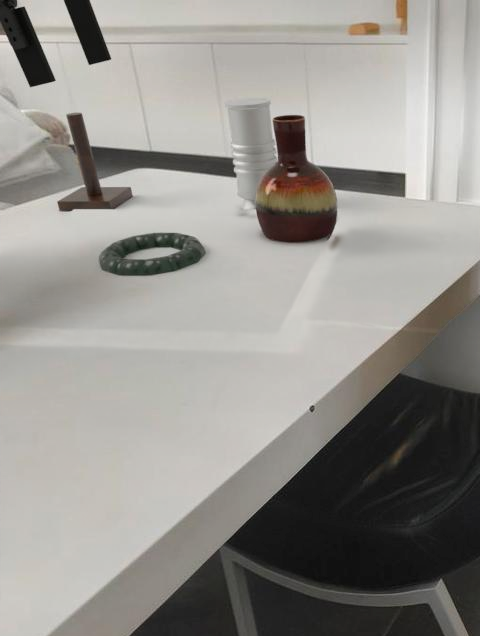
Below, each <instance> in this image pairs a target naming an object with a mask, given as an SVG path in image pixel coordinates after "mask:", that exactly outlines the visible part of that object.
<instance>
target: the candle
mask: <svg viewBox="0 0 480 636" xmlns="http://www.w3.org/2000/svg"><path fill="white" fill-rule="evenodd" d="M271 104H272V100H271V99H270V98H266V97H244V98H243V97H242V98H235V99H230V100H227V101H225V102H224V105H225V107H226V108H227V114H228V115H227V116H228V121H229V128H230V135H231V136H230V137H231V142H230V148H231V150H232V151H231V157H233V159H232V165H233V166H234V167H233V172H234V173H235V174H236V184H237V185H236V187H237V188H236V189H237V196H238V197H239V198H241V199H244V200H243V203H242V210H256V204H255V200H256V192H257V189H258V186H259V183H260V181H261V179H262V178H263V176H264V175H265V173H266V172H267V171H268V170H269V169H270V168H271V167H272V166H274V165H275V164H276V163H277V162H278V156H277V155H276V154H277V148H276V139H275V138H273V126H272V119H271V110H270V105H271Z"/></svg>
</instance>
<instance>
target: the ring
mask: <svg viewBox="0 0 480 636" xmlns="http://www.w3.org/2000/svg"><path fill="white" fill-rule="evenodd" d="M156 248H166V249H167V248H172V249H175V250H179V251H176V252H174V253H171V254H169V255H165V256H159V257H153V258H145V259H144V258H143V259H141V258H140V259H139V258H137V259H136V258H132V259H131V258H126V257H127V256H129V255H131V254H133V253H137V252H139V251H143V250H149V249H156ZM206 254H207V251H206V248H205V247H204V246H203V244H202V243H201V241H200V239H198V238H197V237H195V236H193V235H189V234H185V233H181V232H151V233H144V234H138V235H137V234H136V235H131V236H130V237H129V236H128V237H126V238H123V239H120V240H117V241H114V242H112V243H111V244H110V245H108V246H107V247H106V248H104V249H103V250H102V251H101V252H100V253H99V257H98V262H99V265H100V269H101V271H104V272H105V273H108V274H109V273H110V274H113V275H116V276H120V277H121V276H123V277H148V276H154V275H161V274H167V273H172V272H177V271H181V270H182V269H185V268H187V267H190V266H192V265H195V264H198V263H199V262H200V261H201V260H202V259H203V257H204V256H205V255H206Z"/></svg>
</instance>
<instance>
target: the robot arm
mask: <svg viewBox="0 0 480 636" xmlns="http://www.w3.org/2000/svg"><path fill="white" fill-rule="evenodd" d="M63 2H64V5H65V7H66V10H67V13H68V15H69V18H70V20H71V24H72V25H73V28H74V30H75V33H76V35H77V38H78V41H79V43H80V46H81V48H82V51H83V53H84V56H85V59H86V61H87V64H88V66H92V65H96V64H100V63H103V62H107V61H111V60H112V57H111V53H110V51H109V48H108V45H107V43H106V40H105V37H104V35H103V33H102V30H101V28H100V24H99V22H98V21H99V20H98V19H97V16H96V14H95V11H94V8H93V5H92V3H91V0H63ZM0 25H1V26H2V29H3V31H4V33H5V35H6V37H7V41H8V42H9V45H10V47H11V48H12V49H13V52H14V55H15V57H16V59H17V61H18V64H19V65H20V67H21V70H22V72H23V74H24V77H25V79H26V82H27V84H28V86H29V88H33V87H38V86H43V85H46V84H49V83H50V84H51V83H54V82H56V81H57V80H56V77H55V75H54V73H53V69H52V68H51V65H50V63H49V61H48V59H47V56H46V53H45V51H44V50H43V49H44V48H43V47H42V44H41V42H40V40H39V39H40V38H39V37H38V35H37V32H36V30H35V28H34V26H33V22H32V21H31V18H30V15H29V13H28V11H27V8H26V7H25V6H20V7H18V0H0Z"/></svg>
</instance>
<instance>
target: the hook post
mask: <svg viewBox="0 0 480 636" xmlns="http://www.w3.org/2000/svg"><path fill="white" fill-rule="evenodd" d="M66 121H67V124H68V127H69V131H70V135H71V138H72V139H71V140H72V143H73V146H74V150H75V153H76V158H77V161H78V164H79V169H80V172H81V177H82V180H83V184H84V186H82V187H80V188H78V189H76V190H74V191H73V192H71V193H69V194H68V195H66V196H64V197H63V198H61V199H59V200H57V202H56V203H57V206H58V210H59V211H60V212H71V211H72V212H73V211H74V210H115V209H116V208H117V207H119V206H120V205H122V204H123V203H125V202H126V201H127V200H129V199H130V198H132V197H133V191H132V187H131V186H101V183H100V179H99V175H98V171H97V167H96V163H95V159H94V156H93V152H92V147H91V144H90V139H89V135H88V132H87V128H86V127H87V126H86V124H85V120H84V115H83V113H82V112H69V113H67V114H66Z"/></svg>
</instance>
